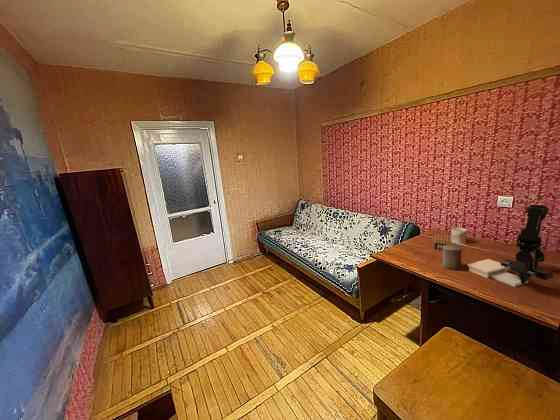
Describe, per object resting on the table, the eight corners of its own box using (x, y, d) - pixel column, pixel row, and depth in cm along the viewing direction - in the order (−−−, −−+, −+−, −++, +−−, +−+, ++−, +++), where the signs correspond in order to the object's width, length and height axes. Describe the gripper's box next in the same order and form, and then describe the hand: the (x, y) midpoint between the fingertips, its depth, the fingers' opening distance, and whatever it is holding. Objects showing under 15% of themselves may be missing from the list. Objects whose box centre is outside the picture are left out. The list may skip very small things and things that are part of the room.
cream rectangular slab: (487, 265, 145) (488, 258, 144) (508, 272, 134) (509, 265, 134) (467, 270, 141) (467, 264, 140) (487, 278, 131) (487, 271, 130)
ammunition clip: (451, 250, 172) (452, 235, 169) (451, 251, 170) (452, 235, 168) (434, 248, 178) (434, 233, 175) (434, 249, 176) (434, 234, 174)
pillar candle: (464, 269, 143) (466, 246, 141) (451, 271, 142) (452, 248, 139) (451, 263, 153) (452, 241, 150) (438, 265, 151) (439, 243, 149)
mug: (447, 240, 190) (447, 228, 188) (460, 239, 191) (461, 226, 189) (458, 245, 179) (458, 231, 177) (471, 243, 181) (472, 229, 178)
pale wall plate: (497, 272, 137) (498, 269, 136) (527, 283, 123) (528, 280, 123) (485, 275, 134) (485, 272, 134) (514, 287, 121) (514, 283, 121)
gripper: (494, 252, 125) (492, 278, 128) (539, 266, 108) (535, 296, 111) (509, 249, 128) (506, 274, 131) (555, 262, 110) (551, 291, 113)
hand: (523, 283), depth 121 cm, fingers closed
